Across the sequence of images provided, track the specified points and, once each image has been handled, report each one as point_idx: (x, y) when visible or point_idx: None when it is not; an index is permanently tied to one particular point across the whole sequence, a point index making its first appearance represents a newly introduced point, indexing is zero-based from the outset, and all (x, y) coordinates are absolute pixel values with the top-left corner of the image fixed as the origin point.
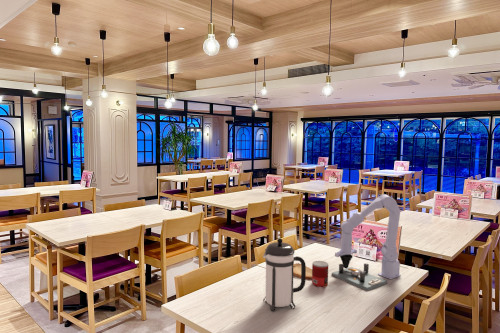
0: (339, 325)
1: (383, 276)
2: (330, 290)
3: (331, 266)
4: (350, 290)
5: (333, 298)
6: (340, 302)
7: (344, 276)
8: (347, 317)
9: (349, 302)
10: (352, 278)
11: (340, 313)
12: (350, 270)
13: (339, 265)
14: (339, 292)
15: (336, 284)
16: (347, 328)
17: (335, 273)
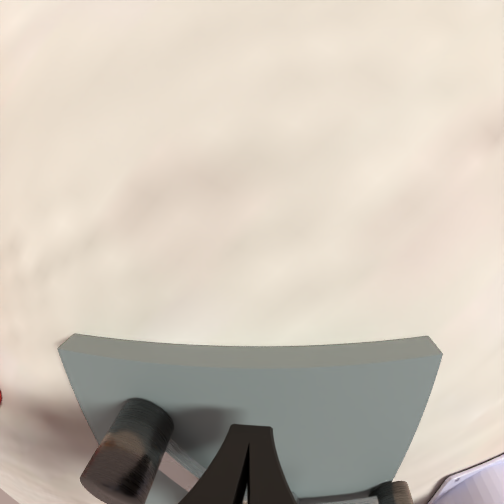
0: (4, 489)
1: (430, 500)
2: (6, 433)
3: (289, 87)
4: (92, 495)
5: (7, 459)
6: (23, 480)
7: None
8: (24, 499)
9: (50, 499)
10: (170, 500)
11: (12, 486)
12: (318, 429)
13: (83, 476)
14: (37, 466)
15: (48, 434)
16: (16, 500)
17: (84, 385)
